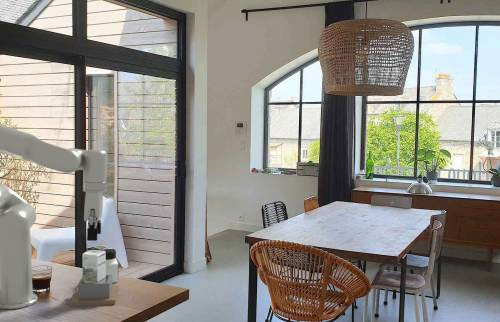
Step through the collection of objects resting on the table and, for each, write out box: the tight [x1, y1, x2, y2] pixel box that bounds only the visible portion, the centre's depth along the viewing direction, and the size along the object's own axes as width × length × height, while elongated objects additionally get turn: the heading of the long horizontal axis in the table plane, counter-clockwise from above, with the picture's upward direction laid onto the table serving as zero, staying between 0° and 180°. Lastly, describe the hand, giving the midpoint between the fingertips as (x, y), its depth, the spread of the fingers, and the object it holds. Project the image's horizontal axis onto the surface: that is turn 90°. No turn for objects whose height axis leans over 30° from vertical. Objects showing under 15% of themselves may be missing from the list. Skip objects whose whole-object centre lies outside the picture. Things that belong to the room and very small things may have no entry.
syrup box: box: [82, 249, 106, 283], centre depth 167 cm, size 6×6×14 cm
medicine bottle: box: [99, 247, 119, 284], centre depth 187 cm, size 7×7×12 cm
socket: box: [70, 274, 120, 307], centre depth 168 cm, size 14×14×6 cm
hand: (94, 237), depth 167 cm, fingers open, 9 cm apart
